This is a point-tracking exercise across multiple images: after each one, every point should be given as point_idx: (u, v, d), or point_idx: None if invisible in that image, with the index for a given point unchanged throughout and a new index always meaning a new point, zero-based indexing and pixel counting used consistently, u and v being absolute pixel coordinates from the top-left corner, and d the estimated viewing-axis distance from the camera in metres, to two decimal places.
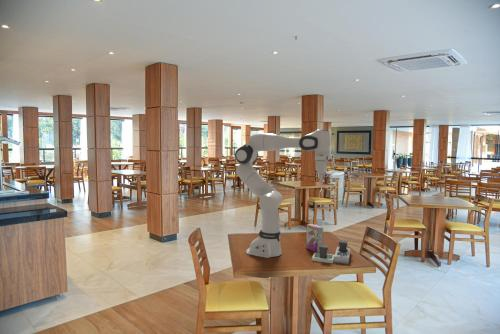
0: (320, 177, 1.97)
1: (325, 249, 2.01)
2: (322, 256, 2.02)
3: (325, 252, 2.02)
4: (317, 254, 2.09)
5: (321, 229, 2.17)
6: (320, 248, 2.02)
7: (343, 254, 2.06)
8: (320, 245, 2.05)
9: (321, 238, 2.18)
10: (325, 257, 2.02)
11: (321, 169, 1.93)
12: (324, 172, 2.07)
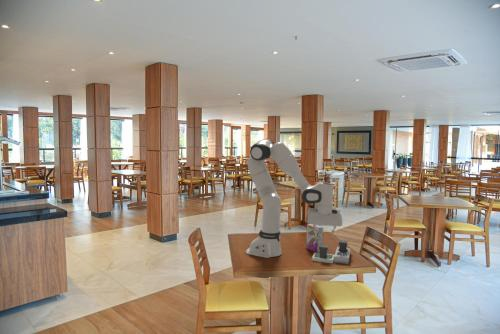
0: (334, 229, 2.01)
1: (325, 249, 2.01)
2: (322, 256, 2.02)
3: (325, 252, 2.02)
4: (317, 254, 2.09)
5: (321, 229, 2.17)
6: (320, 248, 2.02)
7: (343, 254, 2.06)
8: (320, 245, 2.05)
9: (321, 238, 2.18)
10: (325, 257, 2.02)
11: None
12: None
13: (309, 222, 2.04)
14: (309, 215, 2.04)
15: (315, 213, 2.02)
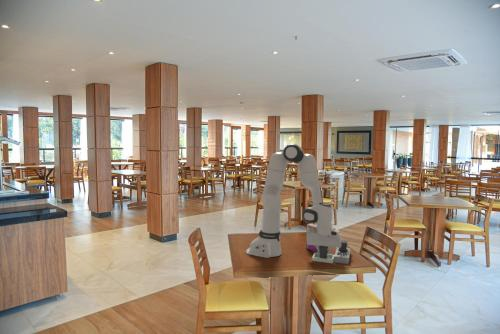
0: None
1: (325, 249, 2.01)
2: (322, 256, 2.02)
3: (325, 252, 2.02)
4: (317, 254, 2.09)
5: None
6: (320, 248, 2.02)
7: (343, 254, 2.06)
8: None
9: None
10: (325, 257, 2.02)
11: None
12: None
13: (308, 243, 2.05)
14: (308, 236, 2.05)
15: (314, 234, 2.03)
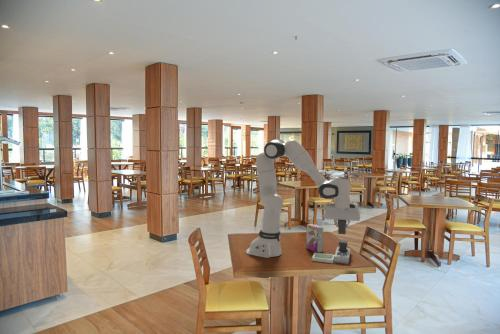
0: (348, 224, 2.00)
1: (344, 223, 1.99)
2: (341, 230, 2.00)
3: (344, 226, 2.00)
4: (317, 254, 2.09)
5: (321, 229, 2.17)
6: (338, 222, 2.00)
7: (343, 254, 2.06)
8: None
9: (321, 238, 2.18)
10: (344, 231, 2.00)
11: None
12: (336, 219, 2.03)
13: (326, 217, 2.03)
14: (326, 210, 2.03)
15: (332, 208, 2.01)
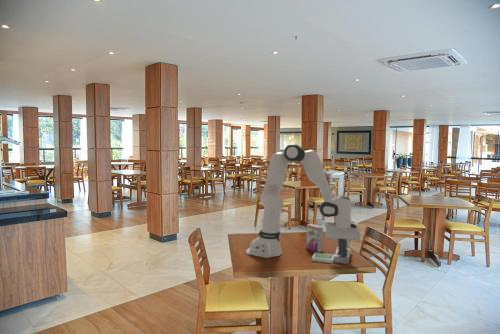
0: None
1: (344, 242, 2.00)
2: (341, 249, 2.01)
3: (344, 245, 2.01)
4: (317, 254, 2.09)
5: (321, 229, 2.17)
6: (339, 241, 2.01)
7: (343, 254, 2.06)
8: None
9: (321, 238, 2.18)
10: (344, 250, 2.01)
11: (360, 235, 2.00)
12: None
13: (327, 236, 2.04)
14: (327, 229, 2.04)
15: (333, 227, 2.02)
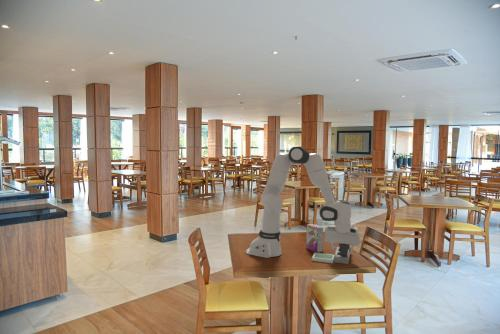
0: None
1: (347, 247, 2.00)
2: (343, 254, 2.01)
3: (346, 250, 2.01)
4: (317, 254, 2.09)
5: (321, 229, 2.17)
6: (342, 246, 2.01)
7: None
8: None
9: (321, 238, 2.18)
10: (345, 255, 2.01)
11: None
12: (333, 242, 2.05)
13: (327, 240, 2.04)
14: (327, 233, 2.04)
15: (333, 231, 2.03)
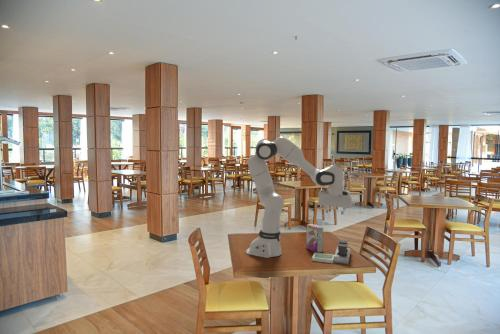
0: None
1: (344, 248, 2.00)
2: None
3: (344, 251, 2.01)
4: (317, 254, 2.09)
5: (321, 229, 2.17)
6: (339, 247, 2.01)
7: None
8: (339, 244, 2.04)
9: (321, 238, 2.18)
10: None
11: None
12: (326, 205, 2.14)
13: (320, 203, 2.12)
14: (320, 196, 2.12)
15: (326, 194, 2.11)
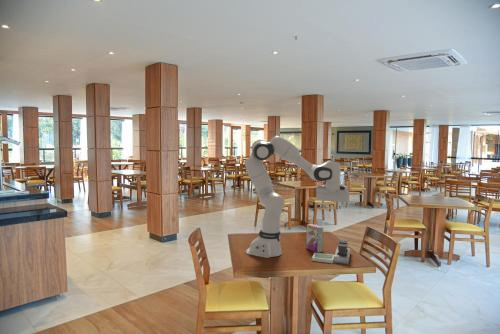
0: (341, 205, 2.12)
1: (344, 248, 2.00)
2: None
3: (344, 251, 2.01)
4: (317, 254, 2.09)
5: (321, 229, 2.17)
6: (339, 247, 2.01)
7: None
8: (339, 244, 2.04)
9: (321, 238, 2.18)
10: None
11: None
12: (324, 200, 2.17)
13: (318, 198, 2.15)
14: (318, 192, 2.15)
15: (323, 190, 2.14)
